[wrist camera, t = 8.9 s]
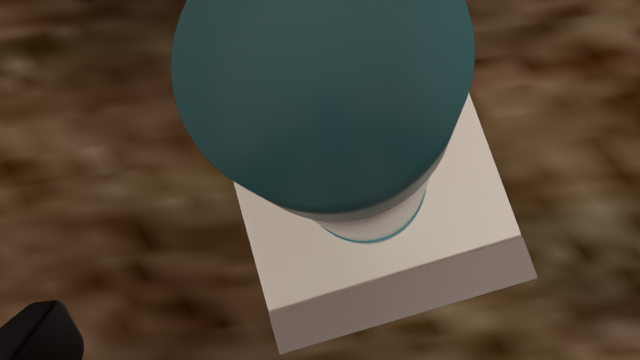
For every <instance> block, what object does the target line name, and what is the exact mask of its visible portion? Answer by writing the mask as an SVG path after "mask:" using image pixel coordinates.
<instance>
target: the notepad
mask: <svg viewBox="0 0 640 360" xmlns="http://www.w3.org/2000/svg"><path fill="white" fill-rule="evenodd" d="M233 182H234V181H233ZM234 186H235V189H236V193H237V197H238V200H239V204H240V208H241V212H242V215H243V219H244V223H245V226H246V230H247V234H248V237H249V241H250V245H251V248H252V252H253V256H254V260H255V263H256V267H257V271H258V274H259V278H260V282H261V285H262V289H263V293H264V297H265V300H266V304H267V308H268V311H269V317H270V321H271V325H272V328H273V332H274V336H275V340H276V343H277V347H278V351H279V354H284V353H287V352H291V351H294V350H297V349H301V348H304V347H307V346H311V345H314V344H317V343H321V342H324V341H327V340H331V339H334V338H338V337H341V336H344V335H348V334H351V333H354V332H358V331H361V330H364V329H368V328H371V327H374V326H378V325H381V324H385V323H388V322H391V321H395V320H398V319H401V318H405V317H408V316H411V315H415V314H418V313H422V312H425V311H428V310H432V309H435V308H438V307H442V306H445V305H448V304H452V303H455V302H458V301H462V300H465V299H469V298H472V297H475V296H479V295H482V294H485V293H489V292H492V291H495V290H499V289H502V288H505V287H509V286H512V285H516V284H519V283H522V282H526V281H529V280H532V279H536V278H538V277H537V274H536V272H535V269H534V266H533V264H532V261H531V258H530V255H529V253H528V250H527V247H526V245H525V242H524V239H523V237H522V236H521V233H520V230H519V228H518V225H517V222H516V219H515V217H514V214H513V211H512V209H511V206H510V203H509V200H508V198H507V195H506V192H505V190H504V187H503V184H502V181H501V179H500V176H499V173H498V171H497V168H496V165H495V162H494V160H493V157H492V154H491V152H490V149H489V146H488V143H487V141H486V138H485V135H484V133H483V130H482V127H481V124H480V122H479V119H478V116H477V114H476V111H475V108H474V105H473V103H472V100H471V97H470V95H469V93H468V97H467V100H466V102H465V105H464V107H463V109H462V112H461V114H460V117H459V119H458V122H457V124H456V127H455V129H454V131H453V134H452V136H451V139H450V141H449V144H448V146H447V148H446V151H445V153H444V156H443V158H442V159H441V161H440V163H439V164H438V166H437V168H436V170H435V171H434V172H433V173H432V175H431V176H430V179H429V182H428V184H427V187H426V193H425V197H424V200H423V203H422V205H421V208H420V210H419V212H418V214H417V215H416V217H415V218H414V220H413V221H412V222H411V223H410V225H409V226H408V227H407V228H406V229H405V230H404V231H403V232H402V233H400V234H399V235H398V236H396V237H394V238H392V239H390V240H388V241H385V242H382V243H378V244H357V243H352V242H349V241H345V240H343V239H340V238H338V237H336V236H334V235H333V234H331V233H329V232H328V231H326V230H325V229H324V228H323V227H321V226H320V225H319V224H318V223H316V222H314V221H313V220H311V219H308V218H305V217H301V216H298V215H295V214H293V213H291V212H288V211H286V210H284V209H282V208H280V207H278V206H276V205H275V204H273V203H271V202H269V201H267V200H265V199H264V198H262V197H260V196H258V195H256V194H255V193H253V192H251V191H249V190H247V189H246V188H244V187H242V186H241V185H239V184H237V183H236V182H234Z"/></svg>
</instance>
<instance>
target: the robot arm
mask: <svg viewBox="0 0 640 360" xmlns="http://www.w3.org/2000/svg"><path fill="white" fill-rule="evenodd" d="M83 352H84V342H83V338H82V335H81V333H80V331H79V329H78V328H77V326H76V324H75V322H74V320H73V319H72V317H71V315H70V313H69V312H68V310H67V308H66V306H65V305H64V304H63V303H62V302H60V301H57V300H51V301H41V302H35V303H32V304H30V305H28V306H27V307H26V308H24V309H23V310H22V311H21V312H19V313H18V314H17V315H16V316H14V317H13V318H12V319H11V320H9V321H8V322H7V323H6V324H4V325H3V326H2V327H1V328H0V360H82V357H83Z"/></svg>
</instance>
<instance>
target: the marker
mask: <svg viewBox="0 0 640 360" xmlns="http://www.w3.org/2000/svg"><path fill="white" fill-rule="evenodd" d="M474 61H475V45H474V33H473V27H472V21H471V17H470V14H469V11H468V8H467V5H466V1H465V0H187V1H186V3H185V6H184V8H183V10H182V12H181V15H180V18H179V21H178V24H177V27H176V30H175V35H174V40H173V45H172V55H171V77H172V87H173V92H174V97H175V102H176V105H177V108H178V111H179V114H180V116H181V119H182V122H183V124H184V126H185V128H186V130H187V131H188V133H189V135H190V137H191V139H192V140H193V142H194V143H195V144H196V146H197V147H198V149H199V150H200V151H201V153H202V154H203V155H204V156H205V157H206V158H207V159H208V160H209V161H210V162H211V164H212V165H213V166H214V167H215V168H217V169H218V170H219V171H220V172H222V173H223V174H224V175H225V176H227V177H228V178H229V179H230V180H232V181H234V182H236V183H237V184H239V185H241V186H242V187H244V188H246V189H247V190H249V191H251V192H253V193H255V194H256V195H258V196H260V197H262V198H264V199H265V200H267V201H269V202H271V203H273V204H275V205H276V206H278V207H280V208H282V209H284V210H286V211H288V212H291V213H293V214H295V215H298V216H301V217H305V218H308V219H311V220H313V221H314V222H316V223H318V224H319V225H320V226H321V227H323V228H324V229H325V230H326V231H328V232H329V233H331V234H333V235H334V236H336V237H338V238H340V239H343V240H345V241H349V242H352V243H357V244H378V243H382V242H385V241H388V240H390V239H392V238H394V237H396V236H398V235H399V234H400V233H402V232H403V231H404V230H405V229H406V228H407V227H408V226H409V225H410V223H411V222H412V221H413V220H414V218H415V217H416V215H417V214H418V212H419V210H420V208H421V205H422V203H423V200H424V197H425V193H426V187H427V184H428V182H429V179H430V176H431V175H432V173H433V172H434V171H435V170H436V168H437V166H438V164H439V163H440V161H441V159H442V158H443V156H444V153H445V151H446V148H447V146H448V144H449V141H450V139H451V136H452V134H453V131H454V129H455V127H456V124H457V122H458V119H459V117H460V114H461V112H462V109H463V107H464V105H465V102H466V100H467V97H468V93H469V89H470V86H471V82H472V78H473V69H474Z"/></svg>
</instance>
